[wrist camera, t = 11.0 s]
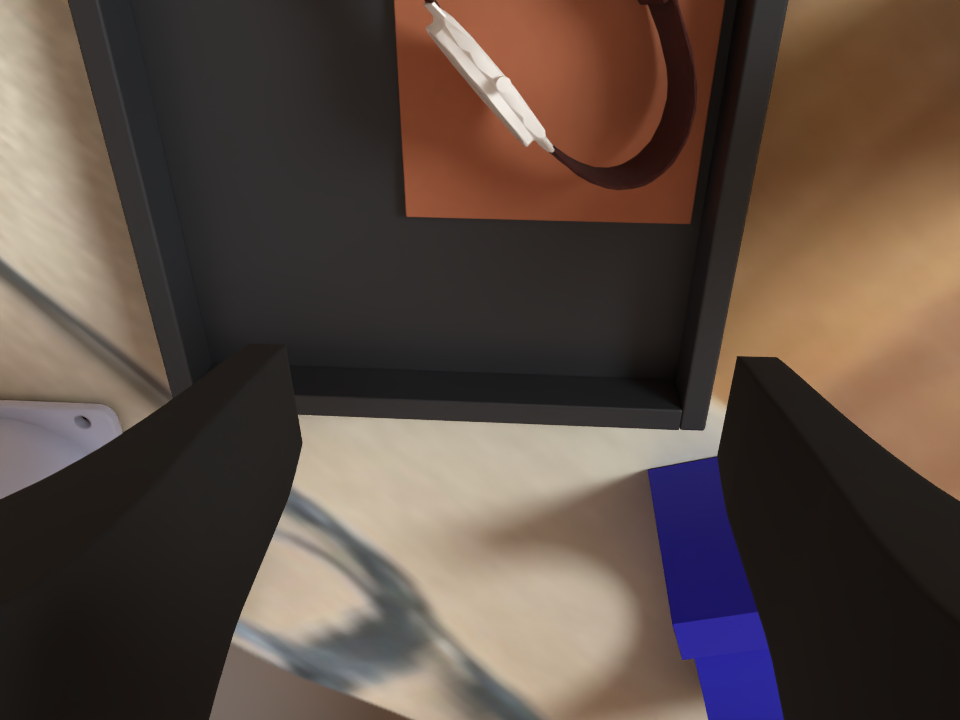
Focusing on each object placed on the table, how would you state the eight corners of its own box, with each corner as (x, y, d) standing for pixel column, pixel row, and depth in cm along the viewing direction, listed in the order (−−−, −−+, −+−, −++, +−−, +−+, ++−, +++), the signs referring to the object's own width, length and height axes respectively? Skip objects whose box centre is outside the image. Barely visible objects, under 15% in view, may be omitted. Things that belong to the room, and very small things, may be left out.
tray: (201, 369, 25) (174, 410, 23) (38, -326, 16) (-27, -347, 14) (693, 387, 24) (705, 431, 22) (822, -337, 15) (860, -360, 13)
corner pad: (407, 212, 21) (406, 217, 20) (380, -268, 15) (378, -269, 15) (689, 219, 20) (690, 224, 20) (765, -272, 15) (768, -274, 15)
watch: (350, -63, 17) (307, -41, 14) (521, -246, 15) (516, -268, 12) (572, 202, 20) (576, 268, 17) (739, 76, 18) (778, 125, 15)
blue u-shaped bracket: (825, 677, 31) (880, 841, 26) (707, 692, 32) (737, 852, 27) (793, 442, 25) (856, 597, 20) (647, 469, 26) (672, 624, 21)
